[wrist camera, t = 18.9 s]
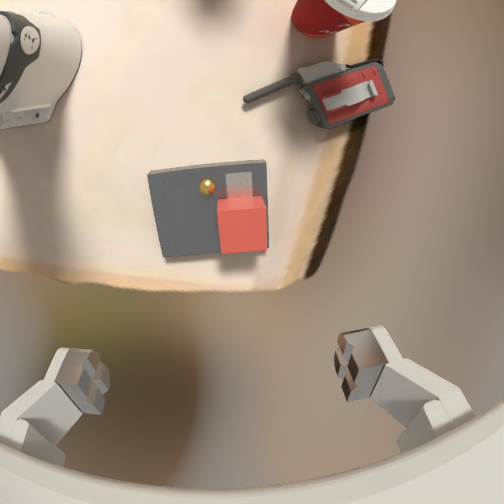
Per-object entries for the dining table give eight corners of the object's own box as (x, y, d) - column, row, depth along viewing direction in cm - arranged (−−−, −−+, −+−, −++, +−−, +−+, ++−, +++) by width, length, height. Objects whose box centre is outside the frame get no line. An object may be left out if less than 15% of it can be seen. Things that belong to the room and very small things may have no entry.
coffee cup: (327, 56, 30) (384, 35, 16) (271, 26, 27) (300, -18, 14) (352, 14, 26) (412, -17, 13) (299, -16, 24) (337, -66, 11)
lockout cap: (221, 238, 39) (221, 253, 35) (217, 199, 36) (216, 211, 32) (263, 235, 39) (267, 250, 35) (261, 195, 36) (266, 207, 33)
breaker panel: (165, 250, 41) (162, 260, 39) (151, 171, 35) (145, 176, 33) (267, 241, 42) (269, 250, 39) (264, 159, 36) (267, 163, 34)
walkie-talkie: (370, 47, 29) (239, 94, 32) (385, 42, 25) (240, 92, 28) (392, 102, 33) (269, 152, 36) (409, 103, 29) (274, 158, 32)
